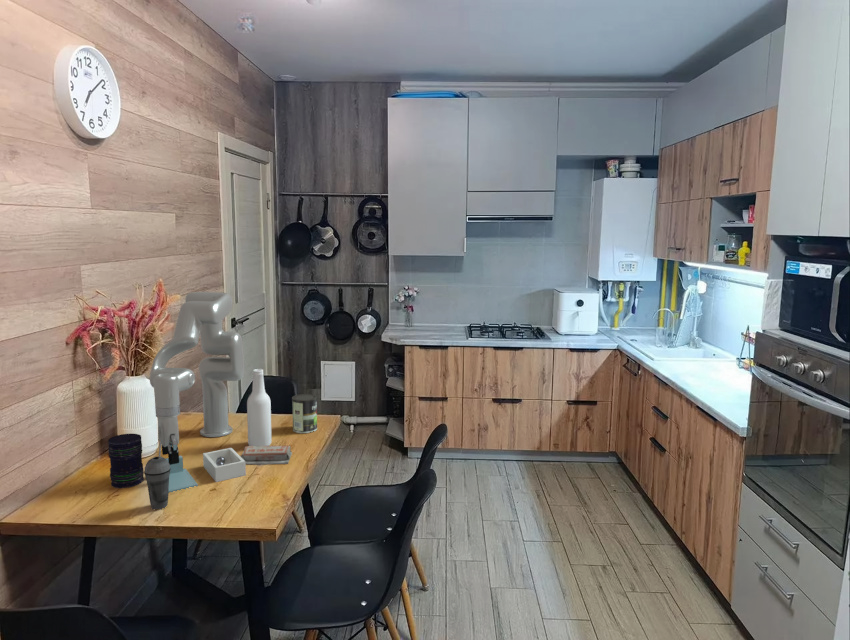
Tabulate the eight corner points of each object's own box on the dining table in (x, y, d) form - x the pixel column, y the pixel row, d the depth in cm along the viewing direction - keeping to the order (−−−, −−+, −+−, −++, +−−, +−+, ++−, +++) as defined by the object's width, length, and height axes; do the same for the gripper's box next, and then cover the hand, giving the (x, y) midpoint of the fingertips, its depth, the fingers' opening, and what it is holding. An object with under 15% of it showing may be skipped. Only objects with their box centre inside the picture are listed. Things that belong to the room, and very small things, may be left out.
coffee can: (319, 425, 250) (319, 393, 248) (314, 433, 240) (314, 400, 237) (295, 425, 250) (295, 393, 248) (289, 433, 240) (289, 400, 238)
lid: (153, 478, 196) (152, 461, 195) (185, 471, 202) (184, 454, 201) (163, 495, 183) (162, 477, 182) (197, 487, 190) (197, 469, 189)
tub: (203, 466, 205) (202, 453, 204) (232, 460, 210) (231, 447, 210) (215, 482, 193) (215, 467, 192) (245, 475, 198) (245, 461, 198)
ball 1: (215, 464, 205) (214, 456, 204) (223, 462, 207) (223, 454, 206) (217, 467, 202) (217, 459, 202) (226, 465, 204) (226, 457, 204)
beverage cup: (146, 503, 177) (143, 440, 174) (172, 499, 180) (169, 437, 177) (145, 514, 170) (141, 449, 167) (172, 509, 173) (169, 445, 170)
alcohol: (270, 439, 232) (268, 366, 228) (272, 447, 224) (271, 371, 219) (247, 442, 229) (245, 368, 224) (249, 450, 221) (247, 373, 216)
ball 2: (214, 469, 201) (213, 461, 200) (222, 467, 203) (222, 459, 202) (216, 472, 198) (216, 463, 198) (225, 470, 200) (225, 462, 200)
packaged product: (292, 442, 218) (288, 452, 208) (292, 454, 218) (288, 465, 209) (243, 442, 216) (236, 453, 206) (243, 455, 217) (237, 466, 207)
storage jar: (105, 482, 191) (102, 438, 189) (135, 473, 198) (133, 431, 196) (118, 491, 185) (115, 446, 182) (149, 481, 192) (147, 438, 190)
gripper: (150, 405, 199) (153, 452, 202) (161, 419, 185) (164, 470, 188) (173, 401, 203) (176, 448, 206) (186, 415, 189) (188, 465, 192)
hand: (170, 458), depth 197 cm, fingers open, 9 cm apart
